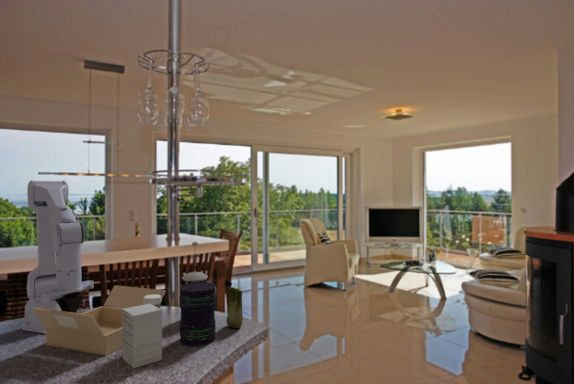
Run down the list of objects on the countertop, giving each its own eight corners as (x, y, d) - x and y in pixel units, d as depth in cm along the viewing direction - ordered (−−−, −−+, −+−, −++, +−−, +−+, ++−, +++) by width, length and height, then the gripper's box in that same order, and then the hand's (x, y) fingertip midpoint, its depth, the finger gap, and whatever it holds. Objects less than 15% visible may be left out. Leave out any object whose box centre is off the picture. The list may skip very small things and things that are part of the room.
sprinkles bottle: (163, 347, 109) (163, 296, 109) (145, 350, 107) (145, 299, 107) (158, 341, 113) (158, 292, 113) (141, 345, 111) (141, 295, 110)
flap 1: (46, 326, 110) (44, 327, 109) (33, 307, 106) (32, 308, 106) (104, 334, 103) (102, 336, 103) (93, 315, 100) (91, 317, 100)
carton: (46, 345, 110) (46, 326, 110) (102, 321, 129) (102, 306, 129) (106, 355, 104) (106, 335, 104) (155, 329, 123) (155, 312, 123)
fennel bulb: (244, 329, 123) (244, 289, 123) (227, 331, 122) (228, 290, 122) (240, 323, 129) (241, 284, 129) (225, 324, 127) (225, 285, 127)
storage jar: (198, 331, 122) (199, 280, 121) (223, 338, 116) (223, 285, 116) (171, 341, 113) (171, 287, 113) (196, 349, 108) (196, 292, 108)
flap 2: (114, 285, 134) (115, 286, 134) (103, 304, 129) (104, 305, 130) (165, 290, 127) (165, 291, 128) (155, 311, 123) (156, 312, 123)
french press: (181, 315, 136) (181, 239, 136) (217, 314, 137) (217, 239, 137) (176, 325, 126) (177, 244, 126) (215, 324, 127) (215, 243, 127)
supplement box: (150, 351, 107) (150, 302, 106) (162, 360, 101) (162, 309, 101) (121, 359, 102) (121, 308, 102) (132, 369, 96) (132, 315, 96)
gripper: (56, 277, 97) (57, 334, 97) (102, 265, 110) (103, 315, 111) (34, 275, 99) (34, 331, 99) (81, 263, 113) (82, 312, 113)
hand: (69, 322), depth 105 cm, fingers closed, pressing on flap 1
